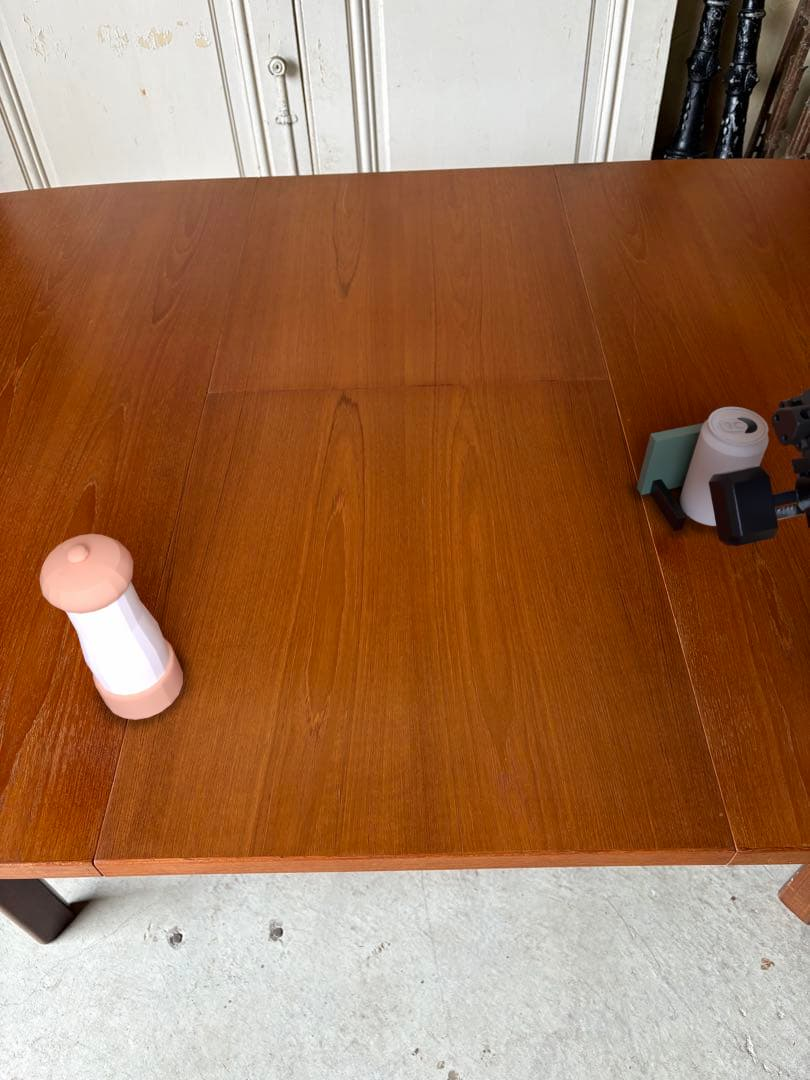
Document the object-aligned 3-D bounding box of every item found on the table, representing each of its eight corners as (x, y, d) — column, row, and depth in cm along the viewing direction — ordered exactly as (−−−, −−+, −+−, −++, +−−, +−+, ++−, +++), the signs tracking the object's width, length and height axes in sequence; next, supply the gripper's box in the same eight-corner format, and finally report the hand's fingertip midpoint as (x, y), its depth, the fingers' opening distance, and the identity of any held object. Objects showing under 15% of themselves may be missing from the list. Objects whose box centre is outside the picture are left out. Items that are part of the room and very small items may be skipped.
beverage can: (747, 528, 86) (783, 443, 77) (688, 533, 86) (717, 448, 77) (727, 486, 90) (758, 400, 82) (670, 490, 90) (695, 405, 81)
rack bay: (767, 510, 88) (791, 455, 82) (665, 533, 86) (682, 479, 80) (734, 467, 92) (754, 412, 87) (636, 487, 91) (650, 433, 85)
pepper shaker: (95, 720, 73) (12, 589, 59) (114, 652, 78) (41, 516, 64) (175, 719, 73) (111, 586, 59) (189, 651, 78) (133, 513, 64)
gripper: (970, 361, 63) (834, 391, 79) (753, 405, 61) (656, 427, 76) (992, 501, 64) (853, 504, 79) (778, 551, 61) (678, 543, 77)
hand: (761, 492), depth 78 cm, fingers open, 9 cm apart
